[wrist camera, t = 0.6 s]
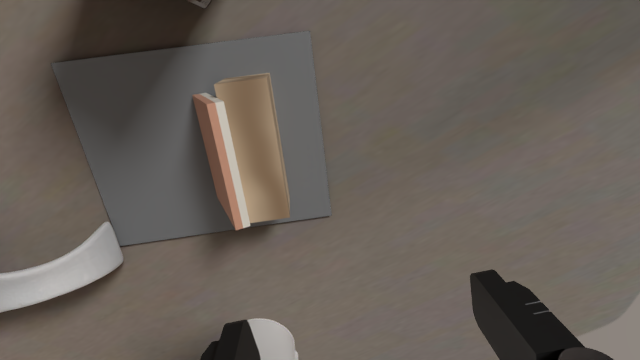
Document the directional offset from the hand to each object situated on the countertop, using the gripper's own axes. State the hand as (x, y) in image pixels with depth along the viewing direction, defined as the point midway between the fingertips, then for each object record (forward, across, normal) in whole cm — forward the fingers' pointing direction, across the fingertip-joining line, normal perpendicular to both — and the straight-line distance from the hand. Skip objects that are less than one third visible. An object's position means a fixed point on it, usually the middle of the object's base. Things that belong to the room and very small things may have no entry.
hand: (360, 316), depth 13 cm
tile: (+19, +9, -3) cm, 21 cm away
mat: (+23, +11, -3) cm, 26 cm away
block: (+23, +6, -2) cm, 24 cm away
